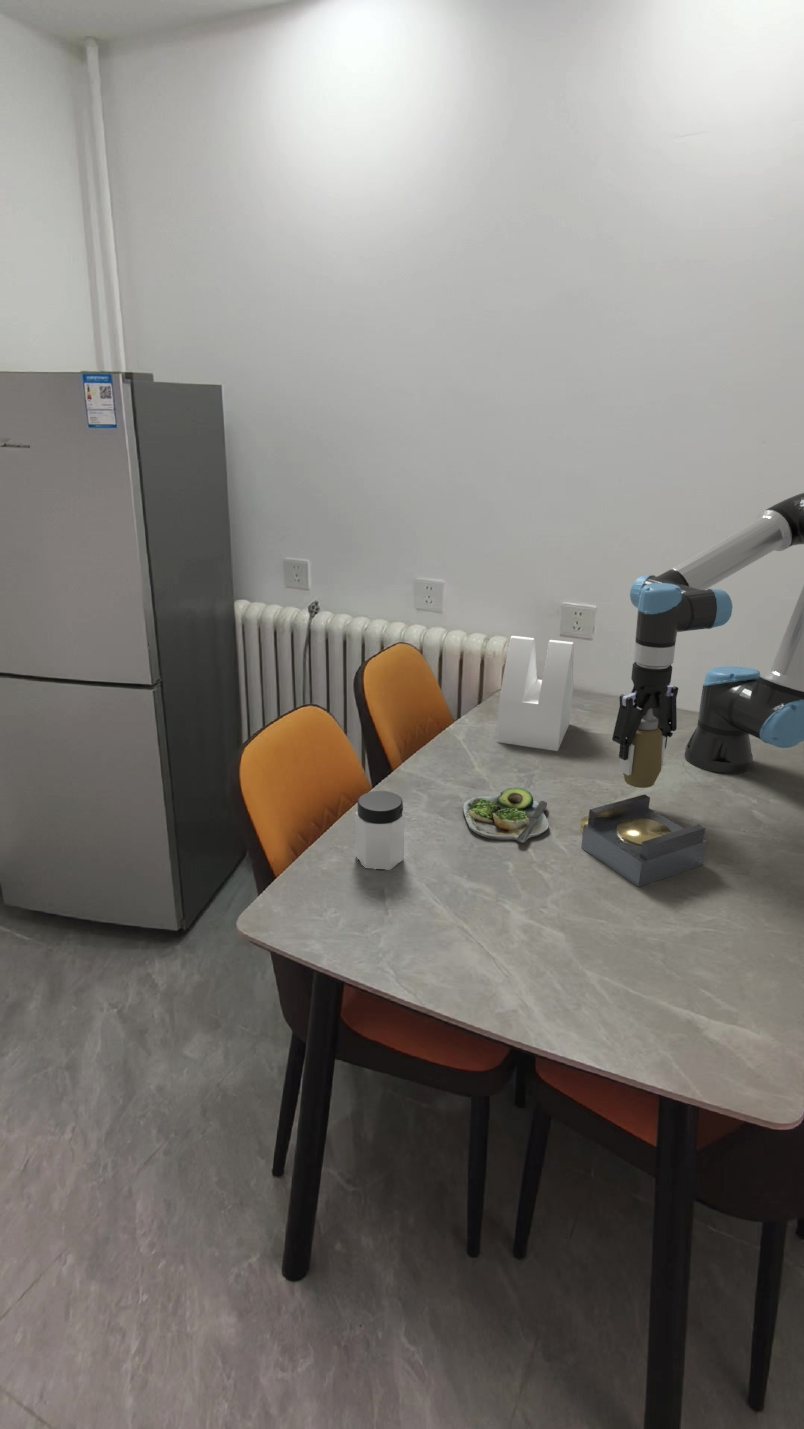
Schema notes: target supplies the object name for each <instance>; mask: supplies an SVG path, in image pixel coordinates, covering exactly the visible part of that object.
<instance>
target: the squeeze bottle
mask: <svg viewBox="0 0 804 1429" xmlns="http://www.w3.org/2000/svg"><path fill="white" fill-rule="evenodd" d="M632 745H634V754H633V763H632V772H631V775H629V776H628V775H626V774H624V773H623V772H622V775H623V778H624V781H625V783H626V784H627V785H628V786H631V787H633V788H641V789H646V788H647V789H648V788H651V787H653V786H654V785H655V783H656V781H657V779H658V777H659V775H660V773H661V771H662V766H661V765H662V731H661V730H660V729H659V728H658V719H657V718H656V717H654V716H653V711H652V708H651V709H649V710H648V711H647V713H646V715H644V716H643V718H642V720H641V722H640V725H639V727H638V729H637V732H636V734H635V736H634V739H633V741H632Z"/></svg>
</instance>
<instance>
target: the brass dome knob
mask: <svg viewBox="0 0 804 1429" xmlns="http://www.w3.org/2000/svg"><path fill="white" fill-rule="evenodd" d="M588 819H589V815H586V816H583V817H582V818H581V819H580V824H579V831H580V833H581V834H582V835H583V828H584V825H585V824H588Z"/></svg>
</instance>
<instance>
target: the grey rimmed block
mask: <svg viewBox="0 0 804 1429" xmlns="http://www.w3.org/2000/svg"><path fill="white" fill-rule="evenodd" d="M650 800H651V796H648V795H647V794H641V795H637V796H633V797H631V798H626V799H623V800H619V801H615V802H612V803H608V804H604V805H601V806H598V807H594V808H593V807H592V808H590V809H589V812H588V816H589V819H588V824H585V825H584V828H583V834H582V838H581V846H580V847H581V849H582V850H584V851H585V852H586V853H588V854H590V855H591V856H592V857H594V858H595V859H597V860H598V861H599V862H601V863H602V864H604V865H605V866H606V867H608V868H610V869H611V870H612V871H614V872H615V873H617V874H618V875H620V876H621V877H623V879H625V880H627V881H628V882H629V883H631V884H633V885H634V886H635V887H638V888H640V887H642V886H645V885H646V886H647V885H649V884H651V883H654V882H658V881H661V880H663V879H666V878H669V877H672V876H675V875H677V874H680V873H683V872H687V871H689V870H692V869H696V868H698V867H701V866H703V864H704V859H705V852H706V848H707V840H705V834H706V833H705V832H706V827H705V826H703V825H701V824H698V823H697V824H696V825H692V826H689V827H686V828H684V827H683V826H681V825H679V824H677V823H676V822H673V821H672V820H670V819H668V818H666V817H664V815H662V814H660V813H658V812H656V811H655V810H652V809H650V802H651V801H650Z"/></svg>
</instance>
